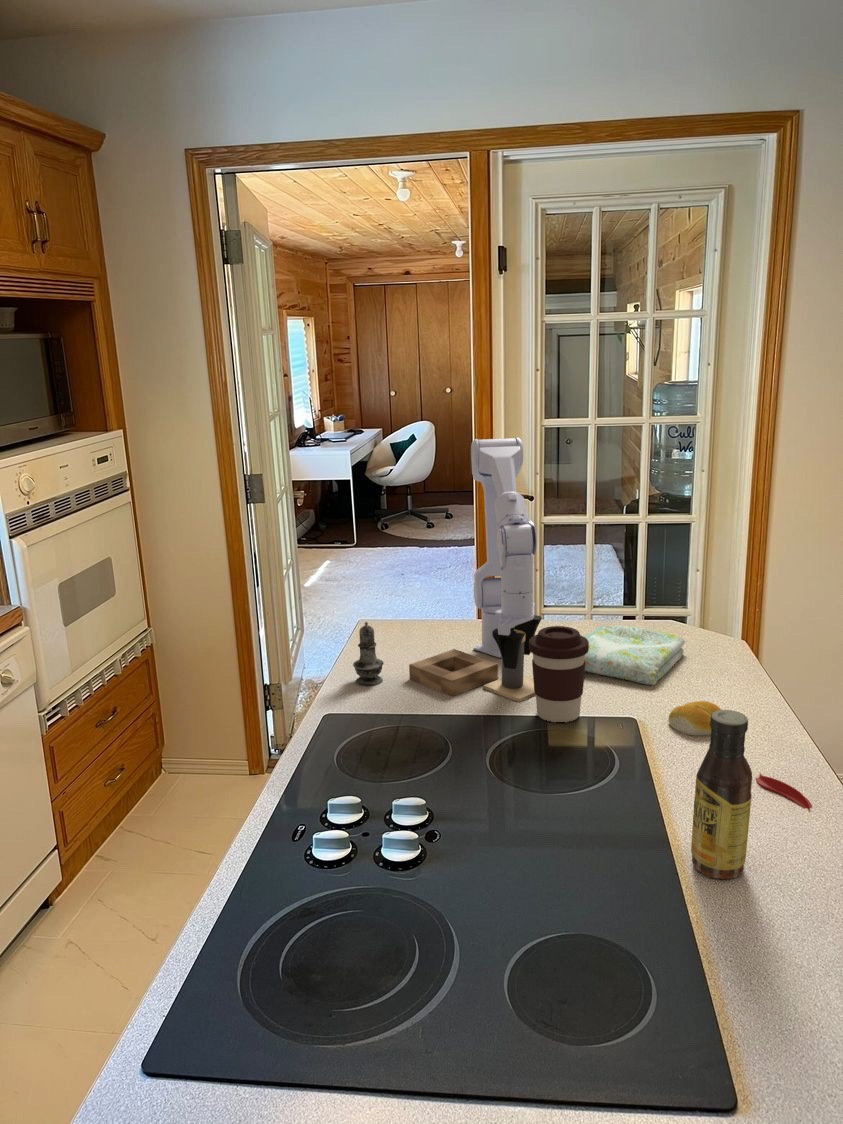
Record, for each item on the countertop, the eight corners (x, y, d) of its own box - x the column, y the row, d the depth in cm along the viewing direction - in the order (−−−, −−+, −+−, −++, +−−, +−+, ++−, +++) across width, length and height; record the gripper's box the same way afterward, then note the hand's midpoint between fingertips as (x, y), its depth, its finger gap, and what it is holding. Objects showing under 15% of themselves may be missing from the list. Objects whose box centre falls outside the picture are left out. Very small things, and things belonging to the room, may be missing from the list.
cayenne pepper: (746, 775, 125) (746, 763, 125) (776, 773, 125) (777, 761, 125) (786, 818, 113) (787, 805, 113) (819, 815, 114) (820, 802, 113)
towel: (687, 654, 174) (688, 630, 173) (653, 690, 157) (654, 664, 156) (602, 641, 184) (603, 618, 182) (561, 673, 167) (561, 648, 165)
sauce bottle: (682, 854, 105) (689, 704, 101) (731, 850, 106) (740, 701, 101) (703, 886, 99) (712, 728, 94) (755, 882, 100) (766, 724, 95)
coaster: (516, 675, 165) (516, 672, 165) (552, 687, 158) (552, 684, 158) (483, 688, 159) (483, 685, 159) (519, 701, 152) (519, 698, 152)
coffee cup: (593, 708, 149) (595, 626, 145) (579, 731, 140) (580, 644, 137) (539, 700, 153) (539, 620, 149) (521, 722, 144) (521, 637, 141)
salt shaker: (386, 675, 167) (383, 616, 164) (382, 686, 162) (379, 626, 159) (356, 675, 168) (353, 616, 165) (351, 686, 162) (348, 626, 159)
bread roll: (735, 727, 140) (737, 704, 139) (699, 742, 135) (700, 718, 134) (694, 711, 147) (695, 689, 146) (659, 724, 142) (659, 702, 141)
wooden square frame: (454, 663, 172) (454, 649, 172) (497, 678, 164) (497, 663, 163) (409, 679, 165) (409, 664, 164) (452, 696, 156) (452, 680, 155)
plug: (504, 677, 162) (505, 628, 158) (527, 681, 160) (528, 631, 157) (497, 686, 158) (498, 636, 155) (520, 690, 156) (521, 640, 153)
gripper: (510, 578, 162) (510, 645, 165) (481, 598, 150) (482, 671, 153) (545, 581, 159) (545, 650, 162) (519, 602, 146) (520, 676, 150)
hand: (517, 660), depth 157 cm, fingers open, 7 cm apart
